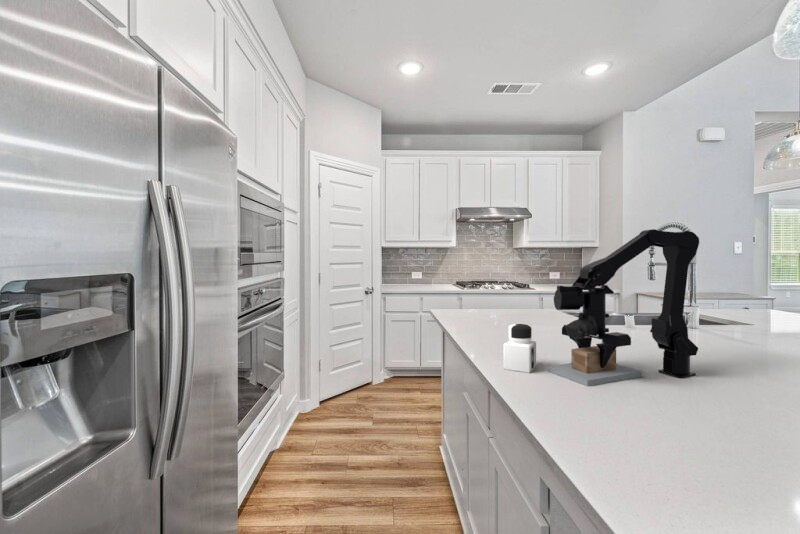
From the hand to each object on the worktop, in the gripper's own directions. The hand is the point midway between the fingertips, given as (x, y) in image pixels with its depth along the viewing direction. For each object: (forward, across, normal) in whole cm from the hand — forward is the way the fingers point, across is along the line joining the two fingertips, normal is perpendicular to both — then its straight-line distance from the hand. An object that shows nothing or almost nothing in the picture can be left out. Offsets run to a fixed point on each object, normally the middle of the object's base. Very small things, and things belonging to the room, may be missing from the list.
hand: (593, 365), depth 109 cm
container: (+3, -13, -15) cm, 20 cm away
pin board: (+2, 0, 0) cm, 2 cm away
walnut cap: (+1, 0, 0) cm, 1 cm away
